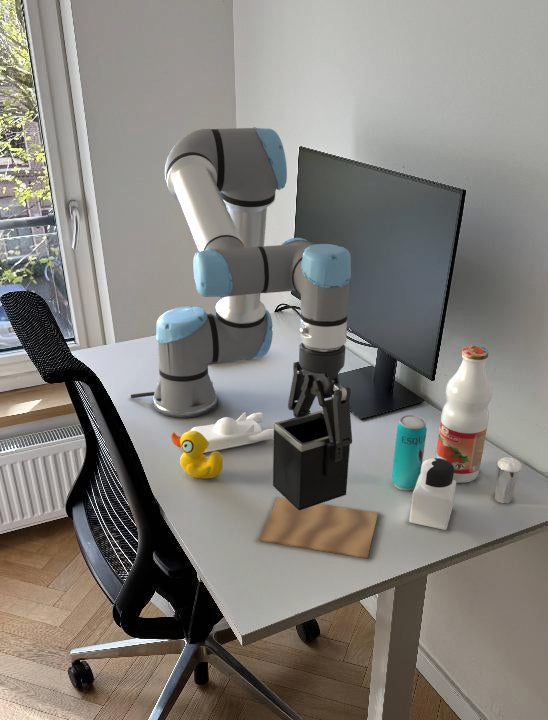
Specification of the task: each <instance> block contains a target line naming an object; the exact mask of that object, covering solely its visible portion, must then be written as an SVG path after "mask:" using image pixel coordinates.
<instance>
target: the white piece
mask: <svg viewBox="0 0 548 720" xmlns="http://www.w3.org/2000/svg"><path fill="white" fill-rule="evenodd" d="M263 420H264V419H263V413H262V411H261V412H254V413H252V414H250V415H248V416H247V412H246V411H244V412H243V413H242V414H241V415H240V416H239V417H238V418H237V419H236V420H235V419H234V418H232V417H229V416H224V417H221V418H220V419H218V420H217V421H216V423H213V424H206V425H197V426H194V427H192V428H191V429H190V430H189V431H197V432H199V433H201V434H202V435H203V436H204V437H205V438H206V439H207V441H208V443H209V445H208V447H207V449H205V451H204V452H203V454H205V453H210V452H211V453H212V452H214V451H220V450H225V449H230V448H235V447H240V446H245V445H249V444H254V443H259V442H263V441H266V440H274V427H272V428H268V429H263V428H262V427H261V425H260V424H259V423H262V422H263Z"/></svg>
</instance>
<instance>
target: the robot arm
mask: <svg viewBox="0 0 548 720" xmlns="http://www.w3.org/2000/svg"><path fill="white" fill-rule="evenodd" d="M164 180H165V182H166V183H165V184H166V185H167V189H168V191H169V193H170V194H171V195H172V197H173V198H174V199H175V200H177V201H178V202H179V204H180V207H181V209H182V213H183V215H184V218H185V221H186V222H187V225H188V228H189V230H190V232H191V233H190V234H191V235H192V238H193V240H194V244H195V247H196V248H197V252H195V253H194V255H193V260H192V261H193V262H192V267H193V279H194V282H195V288H196V291H197V293H198V294H199V295H200V296H201V297H204V298H211V297H212V298H218V297H219V298H221V299H219V301H217V303H216V305H215V312H214V313H207V311H206V310H205V309H204V308H202V307H201V306H190V305H186V306H180V307H175V308H172V309H169V310H167V311H165V312H164V313H163V314H161V315H160V316H159V317H158V319H157V320H156V326H155V327H156V329H155V330H156V331H155V332H156V335H155V340H156V343H157V346H156V347H157V358H158V359H157V361H158V379H157V383H156V387H155V389H154V391H149V392H140V393H139V392H138V393H133V394H130V398H131V399H137V398H145V397H152V396H153V397H152V399H153V408H154V409H155V410H156V411H157V412H158V413H160V414H162V415H163V416H164V415H165V416H167V417H172V418H186V419H187V418H195V417H200V416H203V415H205V414H207V413H210V412H211V411H213V410H214V409H215V408H216V406H217V403H218V402H217V399H218V398H217V393H216V390H215V388H214V383H213V381H212V380H211V377H210V375H209V364H217V363H218V364H219V363H229V362H237V361H251V360H254V359H261V358H264V356H266V355H267V354H268V352H269V351H270V348H271V346H272V342H273V335H274V334H273V333H274V332H273V326H274V325H273V319H272V315H271V313H270V312H269V310H268V309H267V308H266V306H265V304H264V303H263V302H262V301H261V294H269V293H270V294H271V293H284V292H285V293H286V292H297V294H299V296H300V314H299V315H300V316H299V317H300V328H299V340H300V344H299V347H298V348H299V349H298V360H297V361H294V362H293V363H292V364H293V365H292V368H293V369H292V370H293V373H292V374H293V375H292V380H291V385H290V391H289V396H288V403H287V408H288V410H289V411H292V415H293V418H295V417H299V416H303V415H306V414H310V413H312V412H311V408H312V406H313V403H314V401H315V399H316V398H317V402H318V406H319V407H321V408H322V411H323V413H324V418H325V422H326V427H327V432H328V436H329V441H330V442H328V443H326V460H325V476H326V477H331V476H334V475H337V474H340V465H341V460H342V452H343V446H345V445H349V444H350V445H351V444H352V443H353V433H352V419H351V406H350V399H351V393H352V391H351V388H350V387H349V386H346V387H343V386H342V385H341V384H340V383H341V382H340V377H339V373H340V371H342V369H343V368H344V367H345V362H346V361H345V360H346V345H345V344H346V343H347V338H348V337H347V335H348V314H349V313H348V312H349V301H350V289H351V287H350V286H351V278H352V268H351V267H352V266H351V265H352V262H351V261H352V257H351V252H350V251H349V250H348V249H347V248H345V247H343V246H339V245H337V244H331V243H316V244H315V243H313V242H311V241H309V240H308V239H305V238H302V237H292V238H289V239H288V240H285V241H284V242H283V243H282V244H279V245H265V238H266V225H267V211H268V207H270V206H271V205H272V204H273V203H275V200H276V191H281V190H282V189H284V188H285V187H286V184H287V180H288V167H287V158H286V153H285V148H284V145H283V141H282V139H281V138H280V136H279V134H278V133H277V131H276V130H274V129H272V128H262V127H256V126H252V127H239V128H238V127H237V128H236V127H235V128H201V129H196V130H193V131H192V132H189V133H187V134H186V135H184V136H183V137H182V138H180V139H179V140H178V141H177V142H176V143H175V145H174V146H173V147H172V149H170V152H169V153H168V155H167V157H166V160H165V166H164ZM335 436H336V438H335Z"/></svg>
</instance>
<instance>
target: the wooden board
mask: <svg viewBox="0 0 548 720" xmlns="http://www.w3.org/2000/svg"><path fill="white" fill-rule="evenodd" d="M378 516H379V513H378V512H375V511H374V512H373V511H367V510H360V509H355V508H347V507H341V506H336V505H329V504H324V503H320V504H317V505H314V506H311V507H308V508H305V509H302V510H298V509H297V508H296V507H295V506H294V505H293V504H292V503H290V502H289V501H288V500H287V499H286V498H285V497H277V498H276V501H275V503H274V505H273V508H272V510H271V512H270V514H269V517H268V519H267V520H266V523H265V525H264V527H263V530H262V532H261V534H260V536H259V539H258V541H260V542H265V543H271V544H272V543H273V544H277V545H283V546H284V545H285V546H290V547H296V548H302V549H307V550H312V551H313V550H314V551H319V552H326V553H332V554H338V555H344V556H349V557H355V558H361V559H368V558H369V553H370V549H371V545H372V542H373V541H372V540H373V536H374V534H375V533H374V532H375V528H376V525H377V520H378Z"/></svg>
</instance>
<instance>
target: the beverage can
mask: <svg viewBox="0 0 548 720" xmlns="http://www.w3.org/2000/svg"><path fill="white" fill-rule="evenodd" d="M427 429H428V427H427V420H426V419H425V418H424V417H422V416H420V415H415V414H406V415H403V416H401V417H400V418H399V422H398V424H397V426H396V434H395V435H396V436H395V445H394V453H393V455H394V456H393V460H392V461H393V463H392V471H391V479H392V483H393V486H394V487H395V488H396V489H397V490H400V491H404V492H409V491H414V489H415V486H416V483H417V480H418V478H419V475H420V473H421V466H422V463H423V462H424V461H423V460H424V455H425V454H424V452H425V445H426V438H427V431H428V430H427Z"/></svg>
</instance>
